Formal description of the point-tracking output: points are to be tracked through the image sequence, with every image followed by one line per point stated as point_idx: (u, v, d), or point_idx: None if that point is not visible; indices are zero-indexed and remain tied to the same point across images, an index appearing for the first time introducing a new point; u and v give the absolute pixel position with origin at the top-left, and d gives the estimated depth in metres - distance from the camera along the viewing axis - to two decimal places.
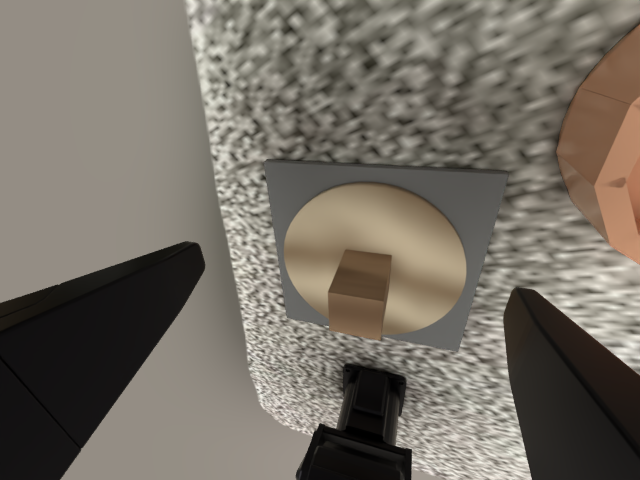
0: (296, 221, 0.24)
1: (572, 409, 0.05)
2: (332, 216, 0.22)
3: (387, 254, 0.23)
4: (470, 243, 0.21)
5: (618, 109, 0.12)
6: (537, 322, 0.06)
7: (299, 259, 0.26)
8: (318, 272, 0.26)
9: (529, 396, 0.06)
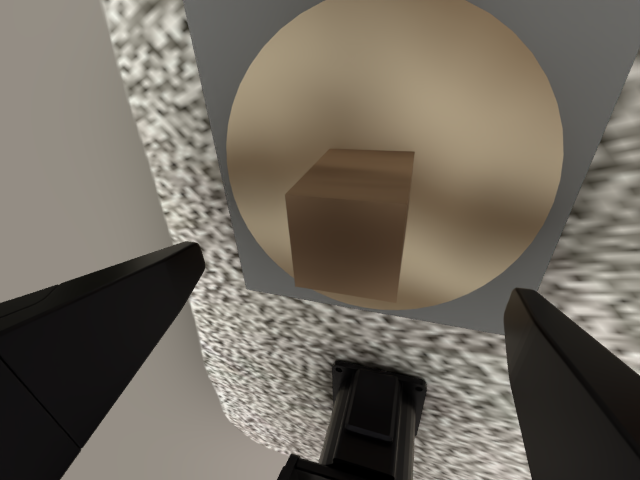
0: (242, 98, 0.13)
1: (572, 409, 0.05)
2: (304, 77, 0.12)
3: (406, 151, 0.12)
4: (571, 114, 0.11)
5: None
6: (537, 322, 0.06)
7: (253, 178, 0.15)
8: (286, 201, 0.15)
9: (529, 396, 0.06)
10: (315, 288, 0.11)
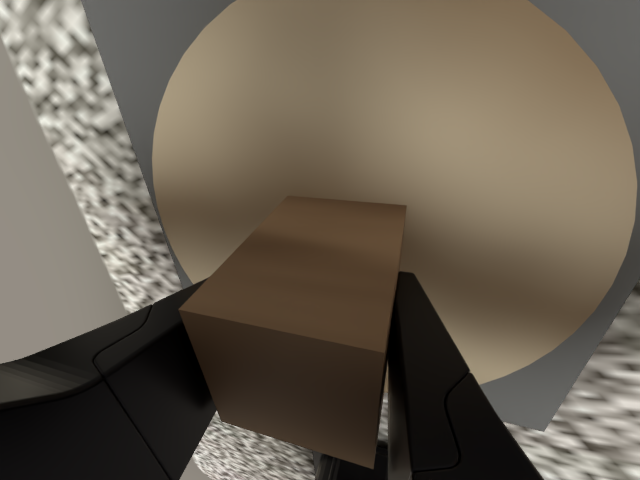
0: (165, 125, 0.09)
1: (395, 369, 0.06)
2: (244, 97, 0.08)
3: (394, 205, 0.08)
4: None
5: None
6: (395, 299, 0.07)
7: (193, 228, 0.11)
8: None
9: (390, 365, 0.07)
10: (250, 429, 0.07)
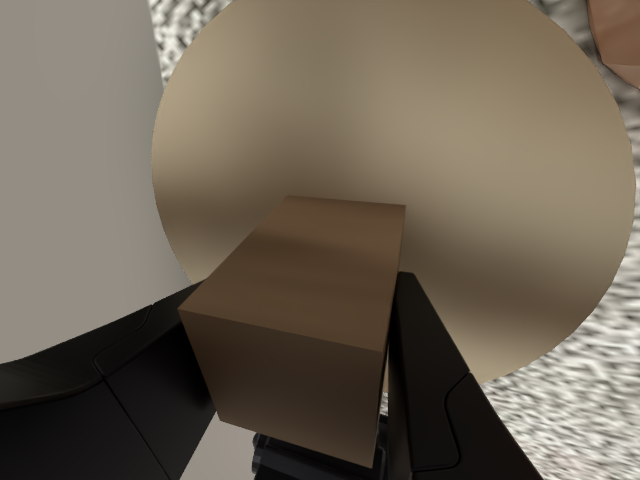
0: (164, 124, 0.09)
1: (396, 369, 0.06)
2: (244, 97, 0.08)
3: (394, 205, 0.08)
4: None
5: None
6: (396, 299, 0.07)
7: (192, 227, 0.11)
8: None
9: (390, 365, 0.07)
10: (249, 428, 0.07)
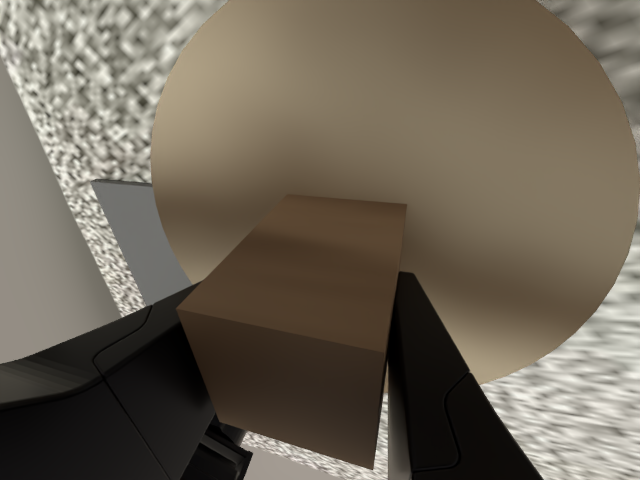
0: (163, 122, 0.09)
1: (396, 369, 0.06)
2: (243, 95, 0.08)
3: (395, 204, 0.08)
4: None
5: None
6: (396, 299, 0.07)
7: (192, 226, 0.11)
8: None
9: (390, 365, 0.07)
10: (248, 429, 0.07)
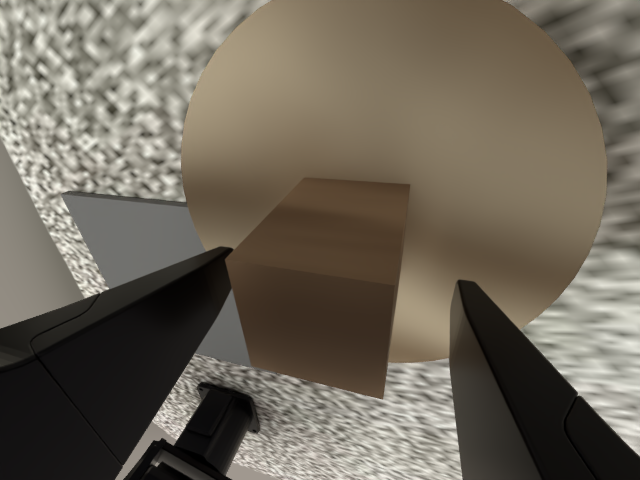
0: (195, 114, 0.11)
1: (483, 389, 0.05)
2: (268, 89, 0.09)
3: (399, 184, 0.10)
4: None
5: None
6: (467, 310, 0.06)
7: (216, 209, 0.12)
8: None
9: (460, 381, 0.06)
10: (277, 371, 0.08)
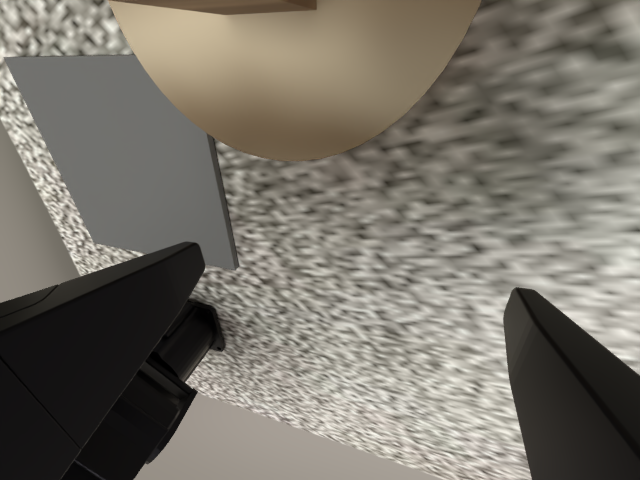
0: None
1: (572, 409, 0.05)
2: None
3: None
4: (193, 139, 0.21)
5: None
6: (537, 322, 0.06)
7: None
8: None
9: (529, 396, 0.06)
10: None
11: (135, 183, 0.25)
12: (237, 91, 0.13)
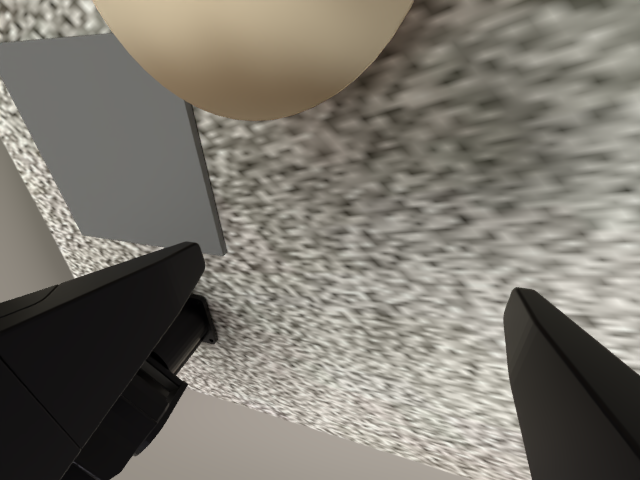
0: None
1: (572, 409, 0.05)
2: None
3: None
4: (174, 119, 0.21)
5: None
6: (537, 322, 0.06)
7: None
8: None
9: (529, 396, 0.06)
10: None
11: (119, 169, 0.25)
12: (204, 47, 0.12)
